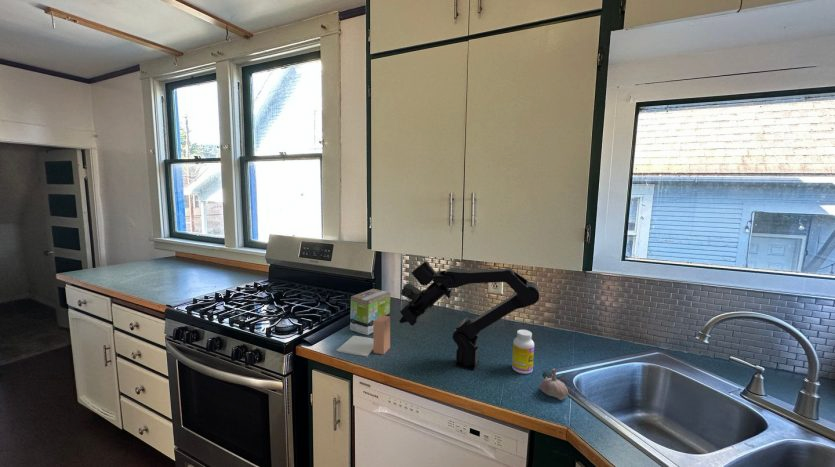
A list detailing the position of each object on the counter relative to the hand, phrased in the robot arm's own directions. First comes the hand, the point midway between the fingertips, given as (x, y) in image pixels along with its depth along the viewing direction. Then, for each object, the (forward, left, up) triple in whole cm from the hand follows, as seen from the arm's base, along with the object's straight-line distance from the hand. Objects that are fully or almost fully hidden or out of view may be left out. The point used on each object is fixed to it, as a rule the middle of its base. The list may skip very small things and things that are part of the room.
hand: (400, 321), depth 123 cm
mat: (+16, +3, -12) cm, 20 cm away
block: (+7, +1, -12) cm, 14 cm away
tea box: (+23, -14, -12) cm, 29 cm away
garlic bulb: (-52, -1, -12) cm, 53 cm away
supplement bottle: (-41, -11, -12) cm, 44 cm away
